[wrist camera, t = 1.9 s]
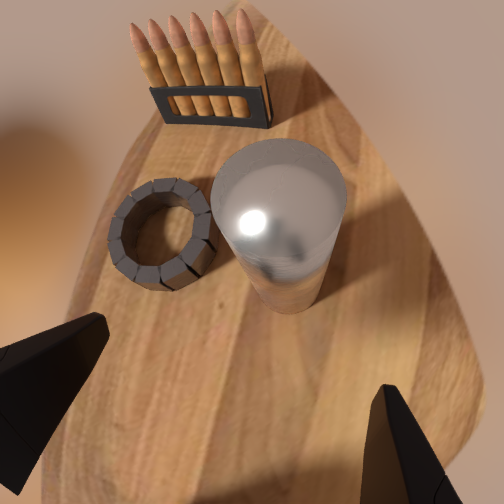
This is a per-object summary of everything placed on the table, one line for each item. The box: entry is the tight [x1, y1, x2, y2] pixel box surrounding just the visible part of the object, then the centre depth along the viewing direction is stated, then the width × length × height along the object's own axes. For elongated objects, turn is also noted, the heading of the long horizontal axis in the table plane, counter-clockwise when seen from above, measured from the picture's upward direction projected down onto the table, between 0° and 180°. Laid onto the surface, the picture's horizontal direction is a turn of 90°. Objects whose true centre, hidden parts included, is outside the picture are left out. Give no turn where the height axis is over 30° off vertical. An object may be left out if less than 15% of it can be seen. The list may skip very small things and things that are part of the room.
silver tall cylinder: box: [210, 138, 347, 314], centre depth 16 cm, size 4×4×12 cm
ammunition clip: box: [130, 9, 274, 129], centre depth 22 cm, size 11×2×12 cm, turn 77°
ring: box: [107, 178, 219, 291], centre depth 23 cm, size 8×8×2 cm
